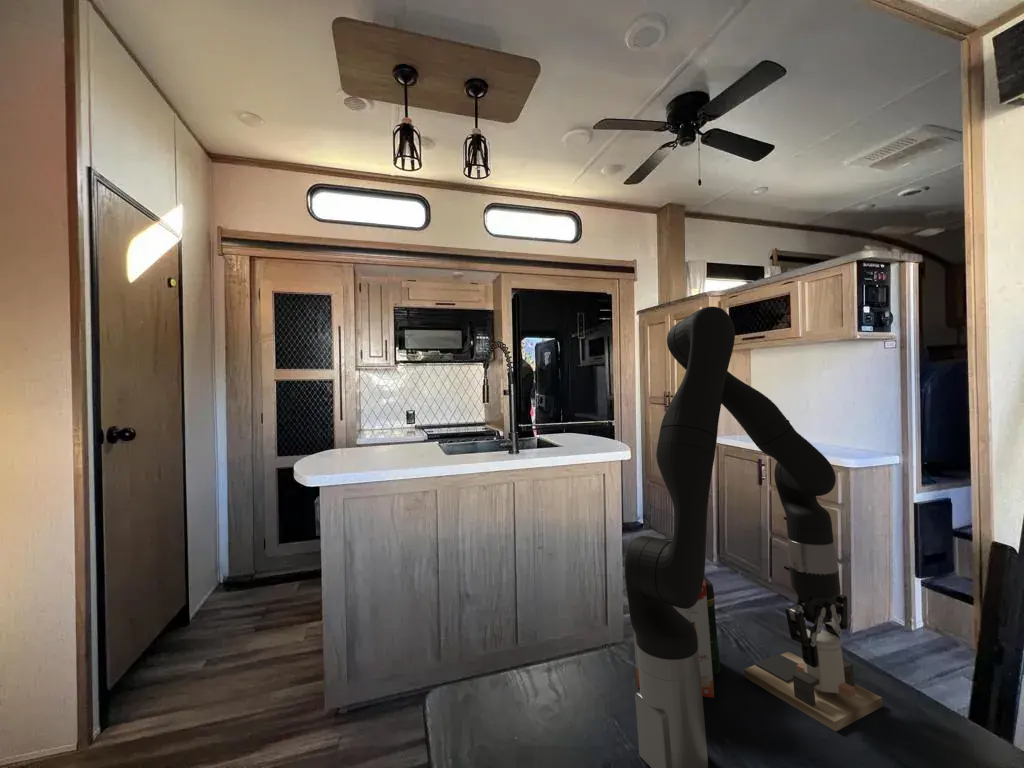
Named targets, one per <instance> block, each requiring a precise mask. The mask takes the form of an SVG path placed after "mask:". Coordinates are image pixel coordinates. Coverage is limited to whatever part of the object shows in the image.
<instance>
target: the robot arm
mask: <svg viewBox="0 0 1024 768" xmlns="http://www.w3.org/2000/svg"><path fill="white" fill-rule="evenodd" d="M735 340H736V331H735V325H734V321H733V320H732V318H731V316H730V315H729V313H728V312H727V311H726V310H724V309H723V308H721V307H717V306H706V307H703V308H701V309H699V310H696V311H695V312H692V313H691V314H690V315H688V316H687V317H685V318H684V319H682V320H681V321H678V323H676V324H674V325H673V326H672V327H671V328H670V329H669V331H668V333H667V336H666V344H667V348H668V351H669V352H670V354H671V356H672V357H673V358H674V359H675V360H676V362H677V363H678V364H680V366H681V367H682V368H683V369H684V370H685V373H684V376H683V378H682V381H681V382H680V385H679V387H678V388H677V390H676V392H675V394H674V396H673V398H672V399H671V401H670V403H669V404H668V407H667V409H666V411H665V413H664V415H663V418H662V421H661V425H660V429H659V434H658V439H657V445H656V446H657V447H656V455H655V457H656V462H657V466H658V470H659V471H660V474H661V477H662V479H663V481H664V485H665V487H666V488H667V491H668V493H669V496H670V499H671V502H672V507H673V511H674V514H673V515H674V522H673V523H674V526H673V535H672V536H673V537H672V540H669V539H663V538H661V537H659V538H658V537H653V536H648V535H640V536H637V537H636V538H634V539H633V540H632V541H631V542H630V543H629V546H628V548H627V550H626V554H625V560H624V580H625V589H626V594H627V595H626V596H627V603H628V612H629V620H630V623H631V624H630V625H631V627H632V630H633V633H634V632H635V634H636V642H637V655H638V670H639V684H640V687H639V691H638V692H635V694H634V698H635V700H634V701H635V711H636V712H635V713H636V725H637V727H636V728H637V741H638V749H639V750H638V753H639V756H640V757H639V758H641V759H642V760H643V761H644V762H645V764H647V765H648V766H649V767H650V768H709V761H708V759H709V758H708V748H707V747H708V746H707V737H706V726H705V723H706V722H705V712H704V711H705V710H704V701H703V700H704V699H703V696H702V686H701V674H700V662H699V650H698V638H697V632H696V629H695V627H694V626H693V624H692V623H691V622H690V621H689V620H688V619H686V618H685V617H684V616H683V615H681V614H680V613H679V612H678V611H677V610H676V609H675V608H674V607H673V606H675V607H678V608H683V609H689V608H691V607H693V606H694V605H695V604H696V602H697V601H698V599H699V597H700V594H701V591H702V587H703V582H704V576H705V572H706V553H707V550H706V549H707V527H708V526H707V524H708V506H709V499H710V498H709V497H710V490H711V482H712V476H713V475H712V474H713V468H714V463H715V459H716V458H715V456H716V450H717V449H716V448H717V441H718V434H719V433H718V432H719V431H718V430H719V429H718V428H719V421H720V415H721V409H722V406H723V407H724V408H725V410H727V411H728V412H729V413H730V414H731V416H733V418H734V419H735V420H736V421H737V422H738V424H739V425H740V427H742V429H743V430H744V432H745V433H746V434H747V436H748V437H749V438H750V439H751V440H752V442H753V443H754V444H755V446H756V447H757V449H759V450H760V452H762V453H763V454H765V455H767V456H768V457H771V458H772V459H774V460H775V461H776V464H775V467H774V472H773V473H774V482H775V486H776V491H777V493H778V496H779V499H780V503H781V505H782V508H783V510H784V513H785V519H786V521H785V523H786V531H787V557H788V568H789V576H790V577H789V578H790V587H791V588H792V590H794V592H795V593H796V595H797V600H796V601H797V602H796V605H795V606H794V607H790V606H786V607H785V608H784V609H785V615H786V620H787V624H788V626H787V627H788V631H789V634H790V639H791V640H793V641H794V642H797V643H800V645H801V653H802V656H801V657H802V659H803V660H804V662H805V663H806V664H808V665H810V666H812V667H814V668H815V667H818V655H817V646H816V639H817V634H820V633H821V630H822V627H823V629H824V630H823V631H826V632H829V633H832V634H834V635H836V636H837V637H838V638H839V639H840V640H841V638H840V637H841V636H842V635H843V634H842V633H843V630H844V631H847V629H848V624H849V623H848V615H849V614H848V597H847V595H844V594H841V581H840V574H839V573H840V571H839V564H838V562H839V561H838V556H837V555H838V554H837V551H836V547H835V542H834V534H833V533H834V532H833V523H832V516H831V514H830V512H829V511H828V510H827V509H826V508H825V507H823V506H821V504H820V503H819V501H818V499H817V497H821V496H822V497H823V496H826V495H828V494H829V493H831V491H833V489H834V488H835V485H836V480H837V479H836V478H837V476H836V473H835V470H834V468H833V467H834V466H832V465H831V463H830V461H829V460H828V459H827V457H826V456H825V455H824V454H823V453H822V452H820V450H819V449H817V448H816V447H815V446H814V445H813V444H812V443H811V442H810V441H809V440H807V439H806V438H805V437H804V436H803V435H801V434H800V433H798V431H796V429H795V428H794V427H793V425H792V424H791V422H790V421H789V420H788V419H787V417H786V415H784V413H783V412H782V411H781V410H780V408H779V407H778V406H777V404H776V403H775V402H773V400H771V399H770V398H768V396H766V395H765V394H764V393H762V392H760V391H759V390H757V389H755V388H754V387H753V386H751V385H749V384H747V383H745V382H743V381H742V380H740V379H739V378H737V377H736V376H735V375H734V374H732V373H731V372H729V371H728V369H729V366H730V363H731V359H732V354H733V351H734V345H735V342H736V341H735ZM839 616H840V617H839ZM806 622H808V623H810V624H812V625H809V624H807V623H806ZM807 629H808V630H810V637H808V635H807Z"/></svg>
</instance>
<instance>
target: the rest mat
mask: <svg viewBox="0 0 1024 768" xmlns="http://www.w3.org/2000/svg"><path fill="white" fill-rule="evenodd" d="M754 665H755V666H757V667H759V668H761V669H763V670H764V671H766V672H768V673H770V674H772V675H773V676H775V677H777V678H779V679H781V680H782V681H784V682H786V683H788V682H791V681H793V674H796V673H798V672H797V668H796V665H798V663H796V662H794V661H792V660H790V659H788V658H786V657H784V656H782V655H781V654H780V653H778V654H776V655H773V656H771V657H767V658H765V659H763V660H761V661H758V662H755V664H754Z"/></svg>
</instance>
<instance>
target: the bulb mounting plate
mask: <svg viewBox="0 0 1024 768" xmlns="http://www.w3.org/2000/svg"><path fill="white" fill-rule="evenodd" d="M780 655H782V656H784V657H786V658H788V659H790V660H792V661H794V662H796V663H798V664H800V663H803V664H804V662H803V657H800V656H798V655H796V654H794V653H792V652H789V651H786V652H784V653H781V654H780ZM843 667H844V676H845V683H846V684H848V685H851V686H853V687H855V693H856V695H854V696H853V697H851V698H850V697H847V696H845V695H843V694H841V693H831V692H823V691H821V690H819V689H817V688H815V686H817V685H819V684H820V681H819V679H818V678H816V677H814V676H812V675H810V674H808V673H806V672H804V671H800V672H798V673H796V674H793V681H791V682H788V683H786V682H784V681H782V680H781V679H779V678H777V677H775V676H773V675H772V674H770V673H768V672H766V671H764V670H763V669H761V668H759V667H757V666H755V664H754V665H752V666H749V667H746V668H744V669H743V674H744V675H743V676H744V678H745V679H747V680H749V681H750V682H752V683H753V684H755V685H757V686H758V687H761V688H762V689H764V690H765V691H767V692H769V693H770V694H772V695H774V697H777V698H779V699H780V700H782V701H783V702H785V703H787V704H788V705H790V706H792V707H794V708H795V709H797V710H798V711H801V713H804V714H806V715H807V716H809V717H811V718H812V719H813V720H816V721H817V722H819V723H820V724H822V725H823V726H825V727H827V728H829V729H831V730H832V731H834V732H838V731H840V730H841V729H843V728H845V727H847V726H849V725H851V724H852V723H854V722H856V721H858V720H860V719H862V718H864V717H866V716H867V715H870V714H871V713H873V712H875V711H876V710H879V709H880V708H883V706H884V705H883V697H882V696H879V695H877V694H875V693H873V692H871V691H870V690H867V689H865V688H863V687H862V686H859V685H857V684H855V673H854V666H853V664H852V663H851V662H849V661H847V660H844V659H843Z"/></svg>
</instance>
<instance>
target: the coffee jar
mask: <svg viewBox="0 0 1024 768" xmlns="http://www.w3.org/2000/svg"><path fill="white" fill-rule="evenodd" d="M704 581H705V584H706V593H707V607H708V619H709V633H710V646H711V659H712V672H713V676H714V675H716V674H719V673H720V671H721V662H720V661H721V660H720V651H719V642H718V641H719V640H718V632H717V631H718V630H717V620H716V607H715V603H716V602H715V592H714V585H713V583H712V582H711V581H710V580H709V579H708V577H706V576H705V575H704Z"/></svg>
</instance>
